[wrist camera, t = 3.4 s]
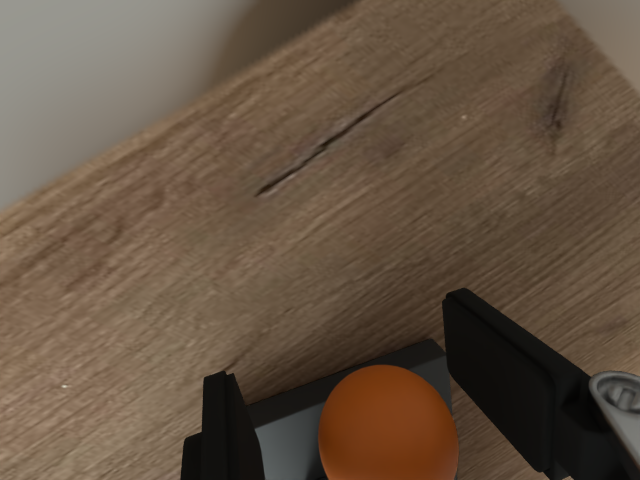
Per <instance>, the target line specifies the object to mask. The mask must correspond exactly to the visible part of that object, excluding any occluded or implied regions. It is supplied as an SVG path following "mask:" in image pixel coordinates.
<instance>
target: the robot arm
mask: <svg viewBox="0 0 640 480" xmlns="http://www.w3.org/2000/svg"><path fill="white" fill-rule="evenodd" d="M442 309H443V321H444V334H445V347H446V359H447V368H448V371H449V373H450V375H451V376H452V378H453V379H454V380H455V381H456V382H457V383H458V384H459V386H460V387H461V388H462V389H463V390H464V391H465V392H466V393H467V395H468V396H469V397H470V398H471V399H472V400H473V401H474V402H475V404H476V405H477V406H478V407H479V408H480V409H481V410H482V411H483V413H484V414H485V415H486V416H487V417H488V418H489V419H490V420H491V422H492V423H493V424H494V425H495V426H496V427H497V428H498V429H499V431H500V432H501V433H502V434H503V435H504V436H505V437H506V438H507V440H508V441H509V442H510V443H511V444H512V445H513V446H514V447H515V449H516V450H517V451H518V452H519V453H520V454H521V455H522V456H523V458H524V459H525V460H526V461H527V462H528V463H529V464H530V465H531V467H532V468H533V469H534V470H536V471H537V472H543V473H544V474H545V475H546V476H547V477H548V478H549V479H550V480H562V479H564V478H566V477H568V476H571V477H572V478H573V479H574V480H640V377H639V376H637V375H634V374H631V373H627V372H622V371H603V372H599V373H597V374H595V375H593V376H592V377H590V376H589V375H588V374H586V373H585V372H583V371H582V370H581V369H580V368H578V367H577V366H576V365H574V364H573V363H571V362H570V361H569V360H567V359H566V358H564V357H563V356H562V355H560V354H559V353H557V352H556V351H555V350H553V349H552V348H550V347H549V346H547V345H546V344H545V343H543V342H542V341H540V340H539V339H538V338H536V337H535V336H533V335H532V334H531V333H529V332H528V331H526V330H525V329H524V328H522V327H521V326H519V325H518V324H516V323H515V322H514V321H512V320H511V319H509V318H508V317H507V316H505V315H504V314H502V313H501V312H500V311H498V310H497V309H495V308H494V307H492V306H491V305H490V304H488V303H487V302H485V301H484V300H483V299H481V298H480V297H478V296H477V295H476V294H474V293H473V292H471V291H470V290H469V289H467V288H461V289H458V290H455V291H452V292H449V293H447V294H446V299H444V300H443V301H442ZM180 480H265V472H264V465H263V458H262V452H261V447H260V443H259V440H258V437H257V434H256V431H255V429H254V426H253V423H252V421H251V418H250V415H249V413H248V410H247V407H246V405H245V402H244V400H243V397H242V394H241V392H240V389H239V386H238V384H237V381H236V378H235V376H234V374H233V373H232V374H229V375H227V374H226V372H225V371H221V372H218V373H215V374H212V375H209V376H207V377H204V381H203V410H202V432H200V433H197V434H195V435H192V436H189V437H187V438H186V439H185V441H184V446H183V456H182V468H181V479H180Z"/></svg>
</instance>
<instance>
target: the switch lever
mask: <svg viewBox="0 0 640 480" xmlns="http://www.w3.org/2000/svg"><path fill="white" fill-rule="evenodd" d="M318 444H319V452H320V457H321V461H322V464H323V467H324V470H325V472H326V475H327V477H328V479H329V480H454V478H455V475H456V470H457V466H458V458H459V443H458V435H457V430H456V426H455V423H454V420H453V417H452V415H451V413H450V410H449V408H448V407H447V405H446V403H445V402H444V400H443V399H442V397H441V396H440V395H439V393H438V392H437V391H436V390H435V389H434V388H433V387H432V386H431V385H430V384H429V383H428V382H427V381H425V380H424V379H423V378H422V377H420V376H418V375H417V374H415V373H413V372H411V371H409V370H407V369H404V368H401V367H397V366H391V365H373V366H368V367H365V368H361V369H359V370H357V371H355V372H353V373H351V374H349V375H348V376H346V377H345V378H344V379H343V380H342V381H340V382H339V384H338V385H337V386H336V387H335V388H334V389H333V391H332V392H331V394H330V395H329V397H328V399H327V401H326V403H325V405H324V407H323V410H322V413H321V417H320V422H319V430H318Z"/></svg>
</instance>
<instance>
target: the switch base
mask: <svg viewBox="0 0 640 480" xmlns="http://www.w3.org/2000/svg"><path fill="white" fill-rule="evenodd" d="M373 365H391V366H397V367H401V368H404V369H407V370H409V371H411V372H413V373H415V374H417V375H418V376H420V377H422V378H423V379H424V380H425V381H427V382H428V383H429V384H430V385H431V386H432V387H433V388H434V389H435V390H436V391H437V392H438V393H439V395H440V396H441V397H442V399H443V400H444V402H445V403H446V405H447V407H448V408H449V410H450V413H451V415H452V404H451V391H450V378H449V371H448V368H447V359H446V352H445V351H444V350H443V349H442V348H441V347H440V346H439V345H438V344H437V343H436V342H435V341H434V340H433V339H429V340H426V341H423V342H420V343H418V344H415V345H412V346H410V347H407V348H404V349H401V350H399V351H396V352H393V353H391V354H388V355H385V356H382V357H380V358H377V359H374V360H372V361H369V362H366V363H363V364H361V365H358V366H355V367H353V368H350V369H347V370H344V371H342V372H339V373H336V374H334V375H331V376H328V377H325V378H323V379H320V380H317V381H314V382H312V383H309V384H306V385H304V386H301V387H298V388H295V389H293V390H290V391H287V392H285V393H282V394H279V395H276V396H274V397H271V398H268V399H266V400H263V401H260V402H257V403H255V404H252V405H249V406H247V410H248V413H249V415H250V418H251V421H252V423H253V426H254V429H255V431H256V434H257V437H258V440H259V443H260V447H261V452H262V458H263V465H264V472H265V480H329V479H328V477H327V475H326V472H325V470H324V467H323V464H322V461H321V457H320V452H319V444H318V430H319V422H320V417H321V413H322V410H323V407H324V405H325V403H326V401H327V399H328V397H329V395H330V394H331V392H332V391H333V389H334V388H335V387H336V386H337V385H338V384H339V382H340V381H342V380H343V379H344V378H345V377H346V376H348V375H349V374H351V373H353V372H355V371H357V370H359V369H361V368H365V367H368V366H373ZM454 480H457V470H456V475H455V478H454Z"/></svg>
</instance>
